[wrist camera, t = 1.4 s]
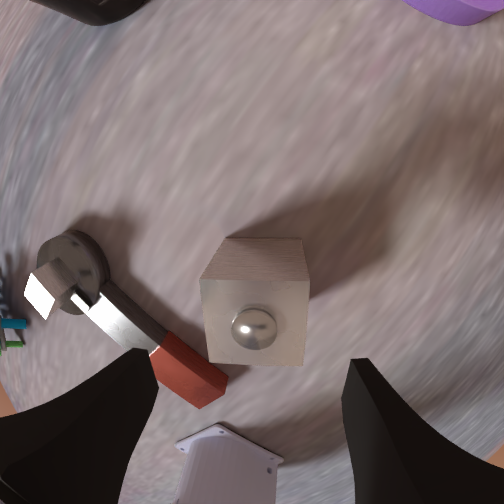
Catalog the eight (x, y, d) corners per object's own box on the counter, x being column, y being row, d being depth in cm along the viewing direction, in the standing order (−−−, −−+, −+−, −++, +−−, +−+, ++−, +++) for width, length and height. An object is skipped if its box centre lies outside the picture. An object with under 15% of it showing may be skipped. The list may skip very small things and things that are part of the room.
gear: (-21, 253, 19) (-31, 338, 13) (25, 257, 23) (26, 342, 18) (-12, 315, 24) (-10, 387, 18) (26, 317, 28) (33, 387, 23)
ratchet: (240, 368, 21) (230, 419, 16) (195, 398, 23) (180, 443, 18) (69, 214, 18) (22, 234, 13) (45, 265, 20) (6, 290, 15)
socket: (300, 238, 17) (311, 285, 11) (298, 305, 19) (303, 371, 13) (224, 238, 18) (196, 283, 12) (228, 304, 19) (207, 367, 13)
